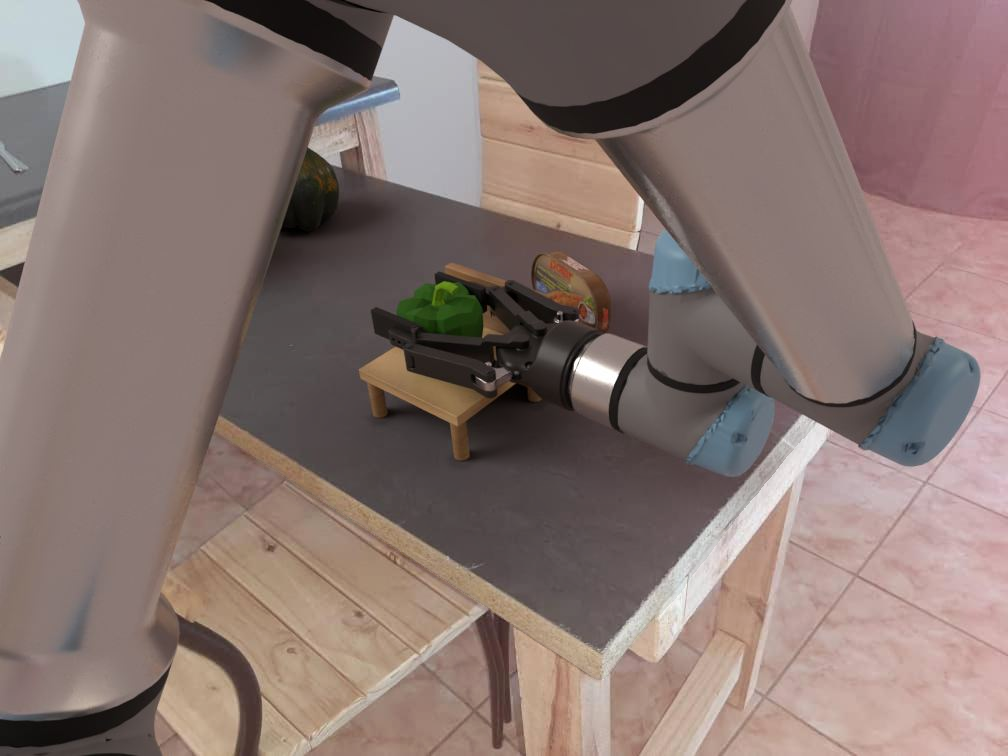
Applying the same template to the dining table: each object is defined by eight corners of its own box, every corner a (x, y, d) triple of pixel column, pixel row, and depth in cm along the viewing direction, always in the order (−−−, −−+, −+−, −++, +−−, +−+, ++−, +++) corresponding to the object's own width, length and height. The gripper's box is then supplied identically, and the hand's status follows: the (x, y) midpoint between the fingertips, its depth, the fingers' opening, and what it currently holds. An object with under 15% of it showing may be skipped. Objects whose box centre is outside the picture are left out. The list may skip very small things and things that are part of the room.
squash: (281, 222, 116) (310, 127, 116) (214, 210, 123) (242, 120, 123) (341, 252, 128) (368, 165, 129) (278, 239, 135) (303, 157, 136)
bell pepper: (393, 358, 82) (379, 273, 77) (463, 335, 85) (455, 252, 80) (425, 397, 76) (412, 308, 70) (499, 371, 79) (492, 284, 73)
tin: (530, 302, 103) (527, 244, 98) (550, 296, 104) (549, 237, 99) (593, 354, 91) (593, 291, 87) (615, 346, 93) (617, 284, 88)
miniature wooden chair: (462, 465, 77) (450, 364, 70) (367, 414, 84) (348, 319, 77) (554, 391, 86) (552, 295, 79) (461, 352, 94) (451, 262, 87)
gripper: (516, 471, 63) (335, 379, 76) (651, 353, 76) (478, 292, 88) (511, 397, 59) (320, 313, 71) (655, 286, 72) (472, 231, 84)
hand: (407, 301), depth 80 cm, fingers closed on bell pepper, 8 cm apart
